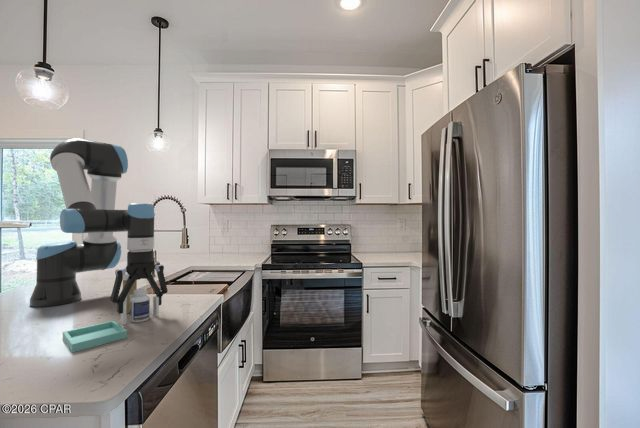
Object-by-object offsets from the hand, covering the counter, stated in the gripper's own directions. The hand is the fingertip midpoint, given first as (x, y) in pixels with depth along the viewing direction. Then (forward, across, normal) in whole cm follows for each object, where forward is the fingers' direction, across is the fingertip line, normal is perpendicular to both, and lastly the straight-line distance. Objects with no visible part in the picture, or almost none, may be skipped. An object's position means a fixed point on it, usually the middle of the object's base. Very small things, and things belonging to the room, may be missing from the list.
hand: (140, 319), depth 97 cm
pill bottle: (+1, 0, 0) cm, 1 cm away
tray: (0, -14, -7) cm, 15 cm away
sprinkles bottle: (0, 0, +12) cm, 12 cm away
